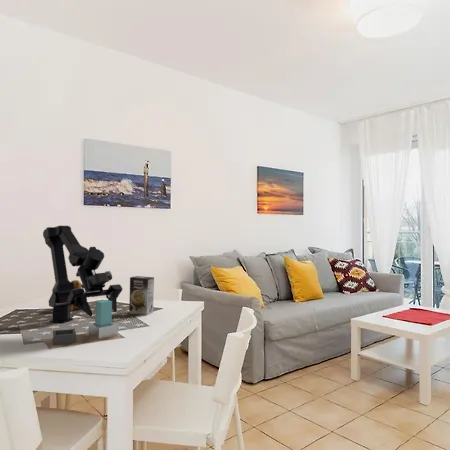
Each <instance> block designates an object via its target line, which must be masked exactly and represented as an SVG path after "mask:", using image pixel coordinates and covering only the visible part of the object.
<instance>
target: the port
mask: <svg viewBox="0 0 450 450" xmlns="http://www.w3.org/2000/svg"><path fill="white" fill-rule="evenodd" d="M88 333H89V334H88V336H91V337H93V338H95V339H98V340H101V339H105V338H110V337H115V336H118V333H119V324H118V323H115V322H112V325H108V326H103V327H98V326H96V325H95V322H92V323H88Z"/></svg>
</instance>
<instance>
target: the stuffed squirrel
mask: <svg viewBox="0 0 450 450" xmlns="http://www.w3.org/2000/svg"><path fill="white" fill-rule="evenodd" d="M70 282H73V284H74V289H80V288H82V287H81V285H82V282H81V281H80V280H77V279H73V280H71V281H70ZM89 306H90V307H91V305H90V304H89ZM74 310H81V309H80V308H78V307H76V306H73V305H70V312H72V311H74Z"/></svg>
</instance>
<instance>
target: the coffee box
mask: <svg viewBox="0 0 450 450" xmlns="http://www.w3.org/2000/svg"><path fill="white" fill-rule="evenodd" d="M154 286H155V277H154V276H142V275H141V276H140V275H139V276H138V275H135V276H131V277H129V303H128V304H129V311H128V313H129V314H130V315H131V314H132V315H142V316H144V315H145V316H148V315H151V314H153V313H154V297H155V296H154V293H155V290H154V288H155V287H154Z"/></svg>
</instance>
